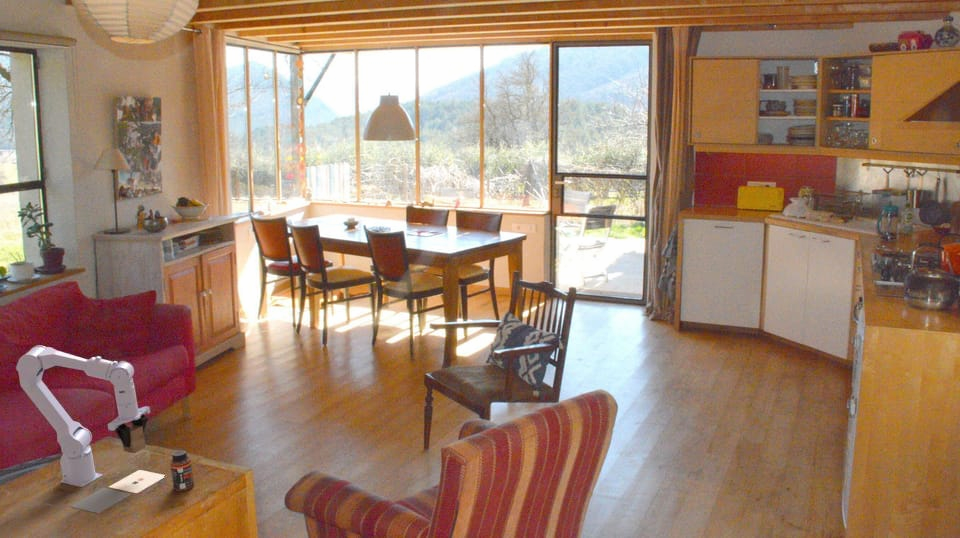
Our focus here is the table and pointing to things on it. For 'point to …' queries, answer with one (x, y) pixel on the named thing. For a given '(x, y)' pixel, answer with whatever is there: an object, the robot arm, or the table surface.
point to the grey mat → (100, 500)
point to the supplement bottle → (181, 471)
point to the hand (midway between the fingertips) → (133, 443)
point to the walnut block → (135, 439)
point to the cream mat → (137, 481)
